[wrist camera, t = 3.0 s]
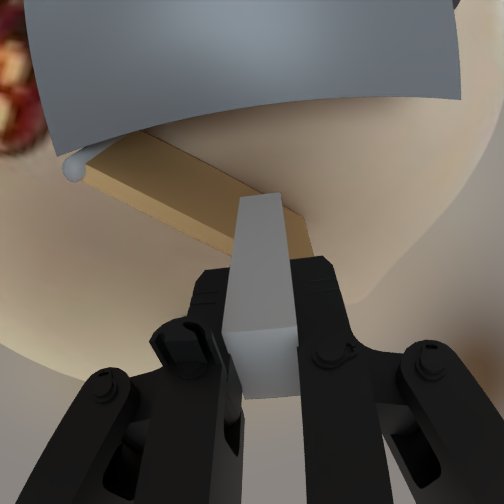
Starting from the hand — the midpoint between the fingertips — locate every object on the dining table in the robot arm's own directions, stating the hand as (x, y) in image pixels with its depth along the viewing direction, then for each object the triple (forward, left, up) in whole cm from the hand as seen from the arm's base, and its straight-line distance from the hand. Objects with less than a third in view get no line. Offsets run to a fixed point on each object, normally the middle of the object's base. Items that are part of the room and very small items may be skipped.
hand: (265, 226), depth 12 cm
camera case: (+2, +10, -12) cm, 16 cm away
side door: (-4, -2, -11) cm, 12 cm away
